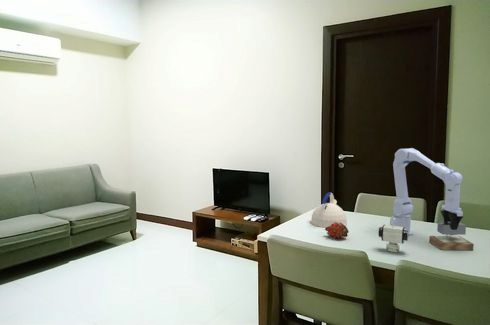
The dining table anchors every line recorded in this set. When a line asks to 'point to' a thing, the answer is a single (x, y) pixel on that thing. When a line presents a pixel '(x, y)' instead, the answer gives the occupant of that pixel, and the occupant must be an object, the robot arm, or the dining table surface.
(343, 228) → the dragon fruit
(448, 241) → the stand
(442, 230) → the block
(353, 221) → the dining table surface
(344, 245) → the dining table surface
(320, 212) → the kettle
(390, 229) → the pneumatic valve
